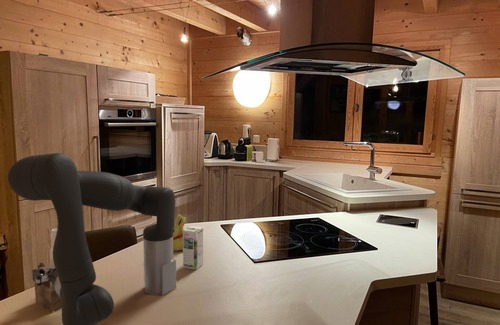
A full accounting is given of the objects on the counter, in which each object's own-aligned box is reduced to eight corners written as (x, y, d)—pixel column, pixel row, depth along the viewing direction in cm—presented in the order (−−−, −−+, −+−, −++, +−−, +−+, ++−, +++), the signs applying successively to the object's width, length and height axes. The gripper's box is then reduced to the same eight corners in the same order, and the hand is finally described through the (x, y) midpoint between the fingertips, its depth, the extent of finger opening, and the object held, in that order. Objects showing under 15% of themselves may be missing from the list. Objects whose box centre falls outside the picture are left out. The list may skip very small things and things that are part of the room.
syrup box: (182, 268, 130) (181, 229, 128) (190, 261, 135) (190, 225, 133) (196, 270, 128) (195, 231, 126) (203, 264, 133) (203, 227, 132)
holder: (83, 297, 108) (82, 279, 107) (53, 311, 100) (52, 291, 99) (65, 289, 113) (64, 271, 112) (35, 302, 105) (34, 283, 104)
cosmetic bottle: (49, 307, 102) (45, 234, 99) (47, 298, 107) (42, 228, 104) (72, 301, 106) (69, 230, 103) (69, 293, 110) (65, 225, 108)
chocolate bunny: (164, 249, 148) (163, 214, 146) (190, 245, 152) (189, 211, 150) (168, 255, 142) (167, 218, 140) (194, 251, 146) (194, 215, 144)
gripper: (98, 262, 96) (83, 245, 108) (38, 276, 87) (28, 256, 99) (100, 288, 97) (84, 268, 109) (40, 305, 88) (30, 281, 100)
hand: (57, 262), depth 104 cm, fingers open, 8 cm apart
